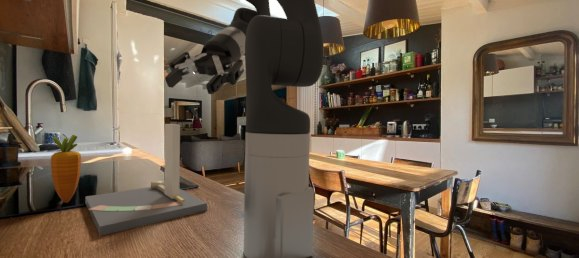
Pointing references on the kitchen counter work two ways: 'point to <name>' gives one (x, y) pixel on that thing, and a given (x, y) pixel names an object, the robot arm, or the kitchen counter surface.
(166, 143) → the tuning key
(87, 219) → the kitchen counter surface
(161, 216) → the gauge dial plate
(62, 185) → the carrot
